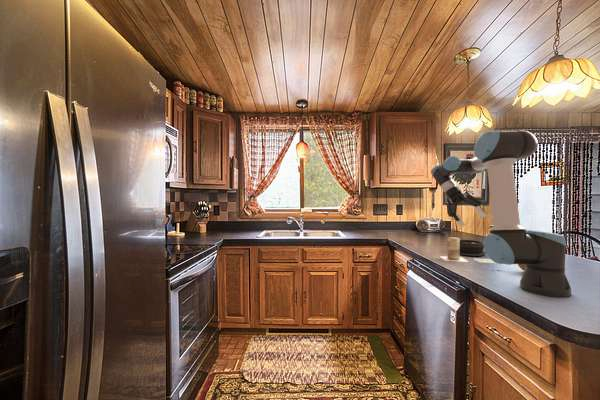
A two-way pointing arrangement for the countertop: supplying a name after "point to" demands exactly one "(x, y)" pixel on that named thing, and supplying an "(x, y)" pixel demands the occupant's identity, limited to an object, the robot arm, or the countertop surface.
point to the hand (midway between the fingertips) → (473, 221)
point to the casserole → (471, 248)
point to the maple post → (453, 248)
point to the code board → (453, 260)
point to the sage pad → (484, 260)
